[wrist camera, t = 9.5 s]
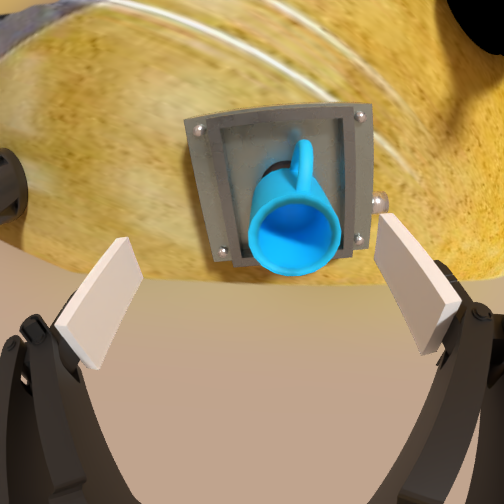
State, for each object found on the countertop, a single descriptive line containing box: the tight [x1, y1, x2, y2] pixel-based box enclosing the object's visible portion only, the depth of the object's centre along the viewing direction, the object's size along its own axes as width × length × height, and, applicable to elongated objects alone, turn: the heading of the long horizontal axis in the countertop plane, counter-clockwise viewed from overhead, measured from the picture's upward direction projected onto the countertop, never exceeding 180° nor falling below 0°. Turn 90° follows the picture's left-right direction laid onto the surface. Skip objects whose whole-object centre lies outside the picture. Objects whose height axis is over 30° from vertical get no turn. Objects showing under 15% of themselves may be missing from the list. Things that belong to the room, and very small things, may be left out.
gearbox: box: [184, 102, 389, 267], centre depth 31 cm, size 23×18×8 cm
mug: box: [248, 139, 341, 276], centre depth 26 cm, size 12×8×8 cm
